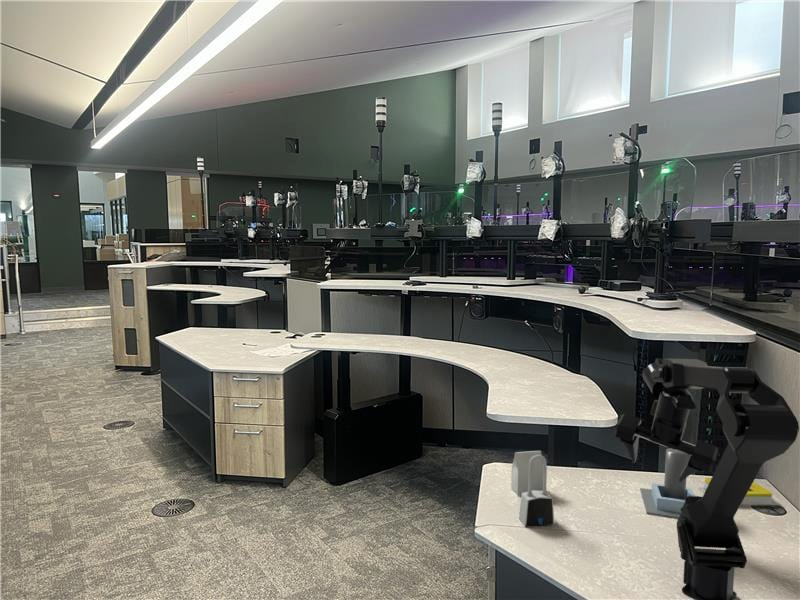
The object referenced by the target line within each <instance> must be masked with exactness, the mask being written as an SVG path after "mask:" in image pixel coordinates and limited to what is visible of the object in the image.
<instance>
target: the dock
mask: <svg viewBox="0 0 800 600" xmlns="http://www.w3.org/2000/svg"><path fill="white" fill-rule="evenodd" d="M639 490H640V494H641V498H642V502H643V506H644V509H645V513H646V514H647V515H652V516H653V515H654V516H659V517H666V518H673V519H678V518H679V517H680V514H681V512H682V511H681V510H680V509H681V508H682V507H683V506H684V502H685V500H680V499H673V498H666V497H664V483H663V484H662V483H654V482H652V483H651V489H649V488H643V487H641V488H639ZM688 496H696V494H695V493H694V491H693V489H692V488H691V487H686V493H685V499H686V498H687V497H688ZM697 496H698V497H701V496H700V495H697Z"/></svg>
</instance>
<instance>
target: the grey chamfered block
mask: <svg viewBox="0 0 800 600" xmlns="http://www.w3.org/2000/svg"><path fill="white" fill-rule="evenodd" d="M535 455H542V451H541V450H529V451H517V452H516V451H515V452H514V456H513V460H512V465H511V490H512V491H513V493H514V492H515V493H516V494H517V495H518V496H519V495H520V496H521V494H522V493H524V492H528V479H529V463H530V460H531V458H532V457H533V456H535ZM533 490H537V491H542V490H543V460H542V459H540V458H537V459H535V460H534V461H533V465H532V488H531V491H533ZM515 493H514V494H515ZM516 494H515V495H516ZM517 495H516V496H517Z"/></svg>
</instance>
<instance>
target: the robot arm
mask: <svg viewBox="0 0 800 600" xmlns="http://www.w3.org/2000/svg"><path fill="white" fill-rule="evenodd" d="M642 378H643V380H644V381H645V383H646V385H647V386H648V389H649V390H650V393H652V396H653V397H655V398H657V399H658V400H657V399H655V400H653V404H652V407H651V409H650V415H651V416H654V417H653V421H652V426H651V429H649V428H646V427H644V426H641V424H642V418H639V417H636V416H633V415H630V414H628V413H623V414H621V416H620V417H619V419H618V421H617V423H616V424H615V426H614V427H615V428H614V432H613V435H614V436H615V437H616V438H618V439H619V441H620V442H621V443H623V444H624V446H625V447H626V449H627V452H628V454H629V457H630V459H631V462H632V464H635V463H636V461H637V458H638V452H639V451H638V450H639V440H640V438H642V439H644V440H647V441H649V442H651V443H654V444H658V445H660V446H663V447H666V448H668V449H669V448H672V449H674V450H675V449H677V450H679V451H682V452H685V453H687V454H688V455H689V457H688V458H687V463H686V465H685V467H684V468H683V470H682V472H681V475H680V478H679V482H682V481H683V480H684V479H685V478H686V479H687V478H688V477H689V476H690V475H693V474H694V473H696V472H699V473H703V472H706V473H711V472H713V469H714V466H715V463H716V460H717V457H718V453H719V448H718V447H717V445H714V444H711V443H709V442H705V441H703V440H700V439H697V440H696V443H695V444H693V443H691V442H688V441H685V440H682V438H683V437H684V435H685V432H686V429H687V421H688V417H689V414H690V410H697V406H696V402H695V401H694V397H693V395H692V394H691V392H690V391H689V390H702V389H710V390H715V391H716V390H717V392H718V395H719V399H718V401H717V405H716V408H715V409H716V413H717V415H718V417H719V419H720V421H721V423H722V431H723V434H724V436H725V438H726V440H727V445H726V447H725V450H724V451H723V453H722V456H721V458H720V460H719V461H718V464H717V466H716V468H715V470H714V473H713V474H712V477H711V478H712V479H711V481H710V483H709V485H708V487H707V489H706V491H705V493H703V495H702V496H700V497H698V496H699V495H695V496H688V497H687V498H686V499H685V502H684V506H683V507H682V508H681V509H680V510H681V511H682V512H681V514H680V517H679V518H677V521H676V532H677V533H676V534H677V542H678V548H679V552H680V558H681V560H683V562H684V564H683V577H682V578H683V584H684V586H683V587H682V588H681V592H682V593H683V594H685V595H688V596H690V597H692V598H694V599H697V600H734V599H735V598H736V597H737V594H738V593H737V592H736V591H734V584H735V583H734V581H735V568H737V569H745V568H746V564H747V562H748V558H747V556H746V552H745V550H744V547H743V545H742V541H741V538H740V535H739V533H740V532H739V531H740V530H739V527H738V525H737V523H736V521H735V516H736V514H737V512H738V510H739V509H740V507H741V506H742V505H741V503H742V501H743V499H744V498H745V496H746V494H747V492H748V490H749V489H750V487H751V485H752V483H753V482H755V480H756V478H757V476H758V474H759V472H760V470H761V469H762V467H763V465H764V464H765V463H766V462H767V461H770V460H772V459H774V458H776V457H778V456H781V455H783V454H786V451H788V450H789V448H790V447H791V446H793V444H794V443H795V441H796V440H797V437H798V434H799V431H800V426H799V421H798V419H797V417H796V415H795V414H794V412H793V411H792V409H791V407H790V406H789V404H788V403H787V401H786V399H785V397H783V396H782V395H781V394H780V393H778V392H777V391H775V389H773V388H771V387H770V386H768V385H767V384H766V383H764V382H763V381H762V379H761V377H759V374H758V373H757V372H756V371H755V370H754V369H752V368H749V367H746V366H745V367H744V366H742V367H741V366H740V367H738V366H736V367H734V366H732V367H731V366H712V365H711V366H709V365H708V363H707V362H705V361H703V360H700V359H698V358H697V359H695V358H658V357H657V358H655V360H654V362H653V363H650V364H649V365H647V366H646V367H644V369H643V370H642ZM729 393H730V394H731V393H732V394H747V395H748V396H749V397H750V398H751V399H752V400H753V401H755V402H756V403H757V404H746V403H741V404H740V403H736V404H733V403H732V401H731V399H730V397H729ZM697 547H699V548H697ZM714 548H715V549H714Z"/></svg>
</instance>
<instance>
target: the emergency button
mask: <svg viewBox="0 0 800 600" xmlns="http://www.w3.org/2000/svg"><path fill="white" fill-rule="evenodd" d="M711 479H712V477H705V479H704V484H703V486H699V487H698V488H697V489H698V490H699V491H700V492H702V493H703V494H704V493H705V491H706V489H707V487H708V485H709V483H710V481H711ZM772 496H773V494H772V492H771V491H770V490H769V489H766V488H765V487H763V486H761V485H760V484H758V483H757V482H755V481H753V483H752V485H751V487H750V489H749V490H748V492H747V494H746V496H745V498H744V499H743V501H742V503H741V505H740V506H781V505H782V504H781V502H780V501H778V500H776V499H775V498H774V497H772Z"/></svg>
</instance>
